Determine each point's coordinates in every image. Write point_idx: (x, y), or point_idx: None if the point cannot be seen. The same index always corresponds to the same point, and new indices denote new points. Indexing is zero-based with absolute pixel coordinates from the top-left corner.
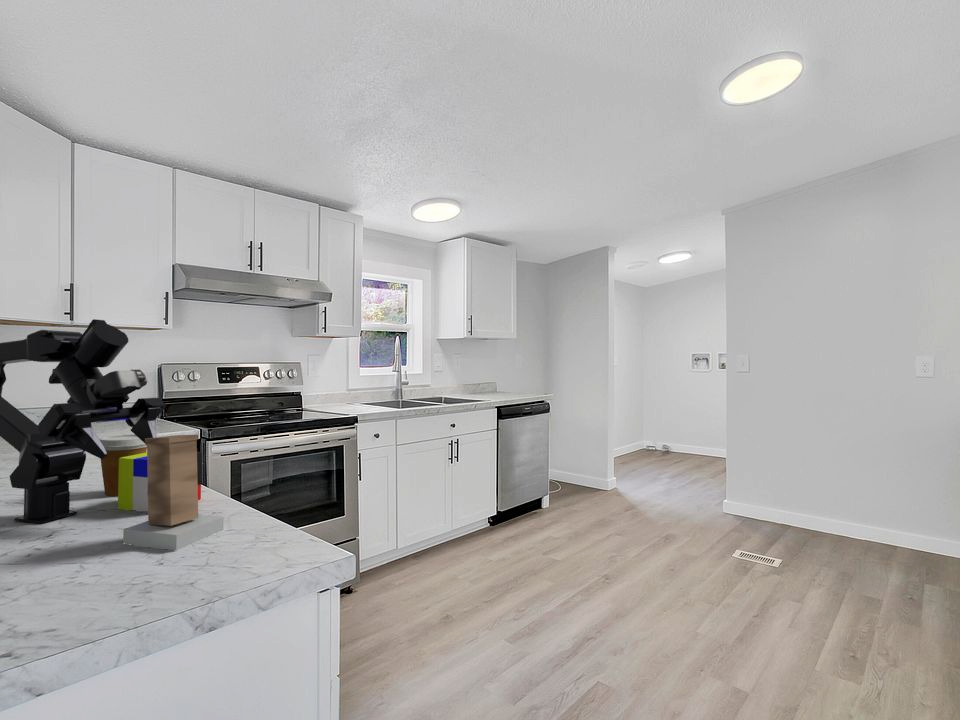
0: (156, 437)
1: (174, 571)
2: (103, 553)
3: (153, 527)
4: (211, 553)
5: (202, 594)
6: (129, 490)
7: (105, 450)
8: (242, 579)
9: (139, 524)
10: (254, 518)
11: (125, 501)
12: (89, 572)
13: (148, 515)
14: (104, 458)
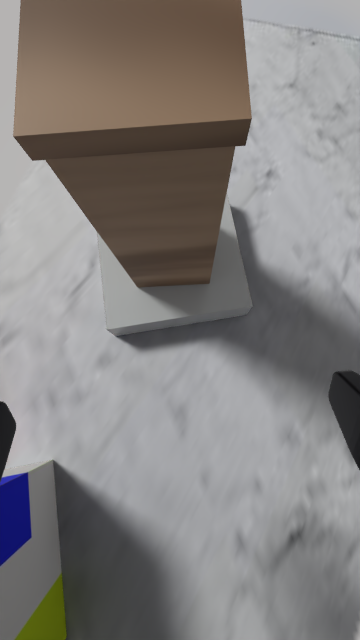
0: (175, 107)
1: (278, 134)
2: (293, 299)
3: (214, 260)
4: None
5: (305, 52)
6: (31, 634)
7: (354, 385)
8: (250, 47)
9: (214, 307)
10: (16, 226)
11: (52, 623)
12: (351, 234)
13: (210, 277)
14: (331, 391)
